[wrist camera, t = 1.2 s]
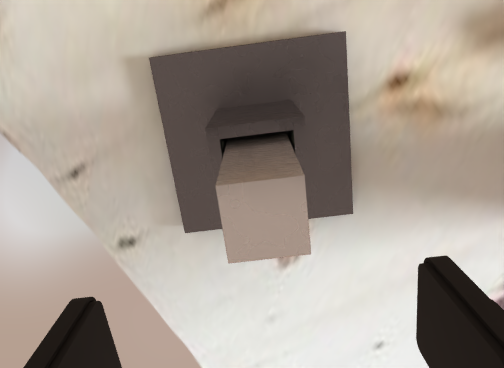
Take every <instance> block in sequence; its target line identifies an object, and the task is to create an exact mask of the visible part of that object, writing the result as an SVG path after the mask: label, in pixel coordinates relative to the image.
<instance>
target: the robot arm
mask: <svg viewBox="0 0 504 368" xmlns="http://www.w3.org/2000/svg"><path fill="white" fill-rule="evenodd" d="M416 339H417V344H418V348H419V350H420V352H421V354H422V356H423V358H424V359H425V361H426V363H427V364H428V366H429V368H504V310H503V309H502V308H501V307H500V306H499V305H498V304H497V303H496V302H494V301H493V300H491V299H490V298H489V297H488V296H487V295H486V294H485V293H484V292H483V291H482V290H481V289H480V288H479V287H478V286H477V285H476V284H475V283H474V282H473V281H472V280H471V279H470V278H469V277H468V276H467V275H466V274H465V273H464V272H463V271H462V270H461V269H460V268H459V267H458V266H457V265H456V264H455V263H454V262H453V261H452V260H451V259H450V258H449V257H448V256H438V257H429V258H426V259H425V260H424V263H422V264H419V266H418V295H417V333H416ZM24 368H122V367H121V363H120V360H119V357H118V354H117V350H116V347H115V344H114V341H113V337H112V334H111V331H110V328H109V325H108V321H107V318H106V315H105V312H104V309H103V305H102V303H101V302H100V301H96V299H95V298H94V297H85V298H78V299H77V298H76V299H72V300H71V301H70V302H69V304H68V305H67V306H66V308H65V309H64V311H63V312H62V314H61V315H60V316H59V318H58V319H57V321H56V322H55V324H54V325H53V326H52V328H51V329H50V331H49V332H48V333H47V335H46V336H45V338H44V339H43V341H42V342H41V343H40V345H39V347H38V348H37V349H36V351H35V352H34V353H33V355H32V356H31V358H30V359H29V361H28V362H27V363H26V365H25V366H24Z"/></svg>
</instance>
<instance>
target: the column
mask: <svg viewBox="0 0 504 368" xmlns="http://www.w3.org/2000/svg"><path fill="white" fill-rule="evenodd" d="M216 192H217V198H218V204H219V210H220V216H221V222H222V228H223V234H224V240H225V246H226V252H227V258H228V263H236V262H245V261H254V260H263V259H272V258H281V257H290V256H299V255H308V254H311V247H310V235H309V223H308V211H307V199H306V187H305V175H304V173H303V171H302V168H301V166H300V164H299V161H298V159H297V157H296V155H295V152H294V150H293V148H292V145H291V143H290V141H289V138H288V136H287V134H286V131H281V132H273V133H265V134H257V135H249V136H241V137H233V138H228V140H227V144H226V148H225V152H224V155H223V159H222V163H221V167H220V171H219V175H218V178H217V182H216Z"/></svg>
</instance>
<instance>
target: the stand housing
mask: <svg viewBox="0 0 504 368" xmlns="http://www.w3.org/2000/svg"><path fill="white" fill-rule="evenodd" d="M149 60H150V65H151V70H152V74H153V79H154V84H155V89H156V94H157V99H158V104H159V109H160V113H161V118H162V123H163V128H164V133H165V138H166V143H167V147H168V152H169V157H170V162H171V167H172V172H173V177H174V182H175V186H176V191H177V196H178V201H179V206H180V211H181V216H182V221H183V225H184V230H185V233H190V232H198V231H207V230H216V229H223V228H222V222H221V216H220V210H219V204H218V198H217V192H216V182H217V178H218V175H219V171H220V167H221V163H222V159H223V155H224V152H225V148H226V144H227V140H228V138H233V137H241V136H249V135H257V134H265V133H273V132H281V131H286V134H287V136H288V138H289V141H290V143H291V145H292V148H293V150H294V152H295V155H296V157H297V159H298V161H299V164H300V166H301V168H302V171H303V173H304V175H305V187H306V199H307V211H308V219H311V218H320V217H328V216H337V215H346V214H353V201H352V175H351V150H350V125H349V100H348V75H347V50H346V31H345V32H337V33H330V34H322V35H315V36H307V37H300V38H292V39H285V40H278V41H270V42H263V43H255V44H248V45H240V46H233V47H225V48H218V49H210V50H203V51H195V52H188V53H181V54H173V55H166V56H158V57H151V58H149Z"/></svg>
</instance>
